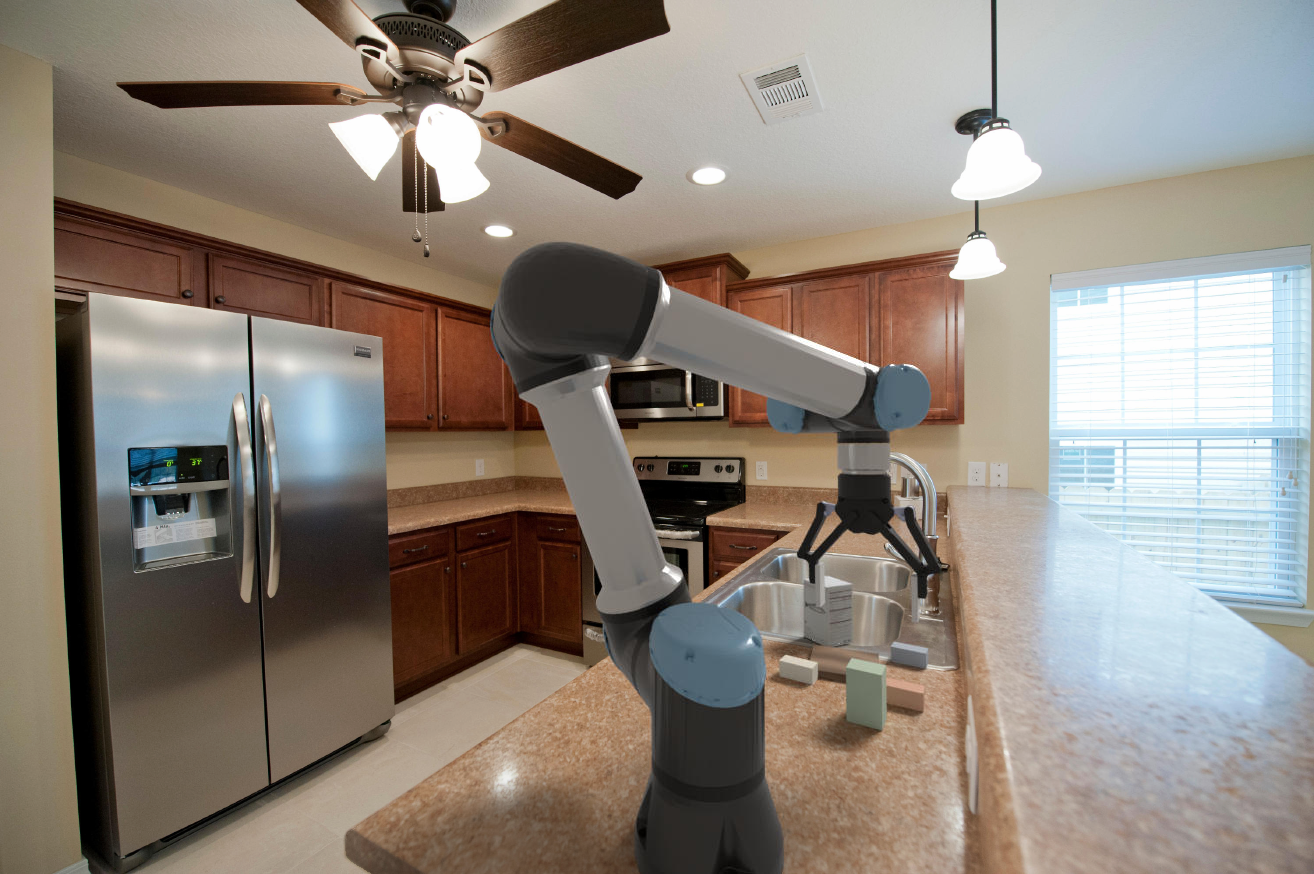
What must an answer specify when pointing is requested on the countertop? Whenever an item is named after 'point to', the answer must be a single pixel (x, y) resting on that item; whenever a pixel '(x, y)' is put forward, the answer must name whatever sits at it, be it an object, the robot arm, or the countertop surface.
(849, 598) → the supplement box
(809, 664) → the cream brick
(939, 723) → the countertop surface
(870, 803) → the countertop surface
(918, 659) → the slate brick
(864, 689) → the sage brick
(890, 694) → the terracotta brick
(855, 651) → the walnut board
